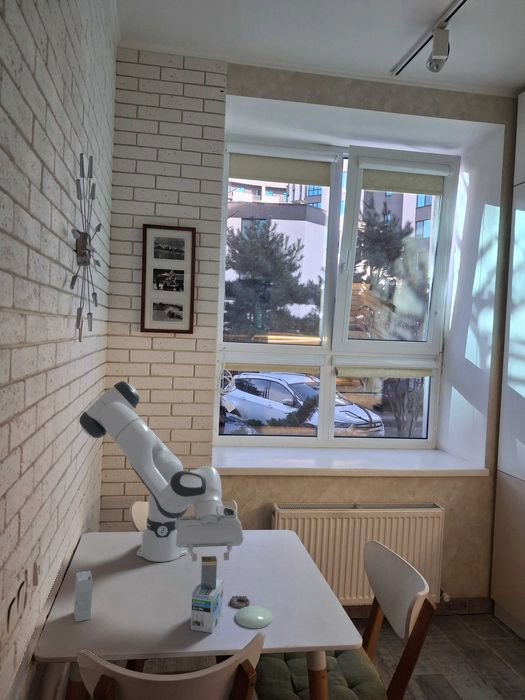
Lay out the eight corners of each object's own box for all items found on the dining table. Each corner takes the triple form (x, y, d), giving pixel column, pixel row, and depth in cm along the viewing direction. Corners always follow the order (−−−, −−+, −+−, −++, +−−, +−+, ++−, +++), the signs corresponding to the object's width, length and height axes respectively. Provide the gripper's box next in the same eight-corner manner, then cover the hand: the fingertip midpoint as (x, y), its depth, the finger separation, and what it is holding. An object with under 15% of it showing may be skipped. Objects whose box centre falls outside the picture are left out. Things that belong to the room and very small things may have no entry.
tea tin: (200, 583, 156) (201, 556, 156) (215, 582, 157) (216, 556, 157) (201, 589, 152) (202, 561, 152) (216, 588, 153) (217, 561, 153)
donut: (255, 609, 164) (255, 603, 164) (232, 614, 161) (232, 607, 161) (245, 596, 172) (246, 590, 172) (223, 600, 169) (223, 594, 169)
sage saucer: (233, 610, 163) (233, 606, 163) (268, 608, 165) (268, 604, 165) (238, 630, 152) (238, 626, 152) (275, 628, 154) (275, 624, 154)
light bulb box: (212, 634, 149) (213, 596, 149) (189, 630, 150) (191, 592, 150) (223, 614, 160) (224, 579, 159) (201, 611, 161) (202, 576, 161)
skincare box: (73, 612, 158) (74, 572, 157) (89, 609, 160) (90, 569, 159) (75, 622, 152) (76, 581, 152) (91, 619, 154) (93, 578, 154)
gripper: (175, 512, 161) (175, 557, 152) (242, 510, 165) (245, 554, 156) (174, 521, 166) (174, 566, 156) (239, 519, 169) (243, 563, 160)
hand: (210, 560), depth 156 cm, fingers open, 8 cm apart
